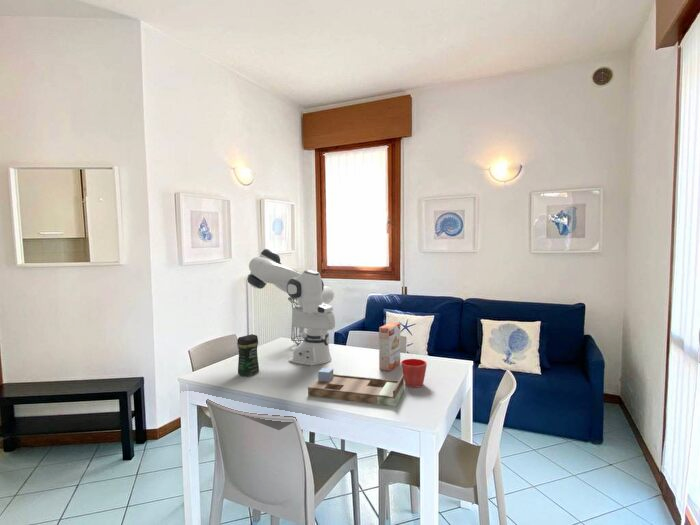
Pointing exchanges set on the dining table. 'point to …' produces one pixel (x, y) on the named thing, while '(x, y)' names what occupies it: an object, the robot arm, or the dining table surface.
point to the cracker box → (389, 346)
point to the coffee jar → (248, 355)
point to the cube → (325, 374)
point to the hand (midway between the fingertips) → (313, 338)
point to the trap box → (359, 389)
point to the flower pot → (413, 372)
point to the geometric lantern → (292, 326)
